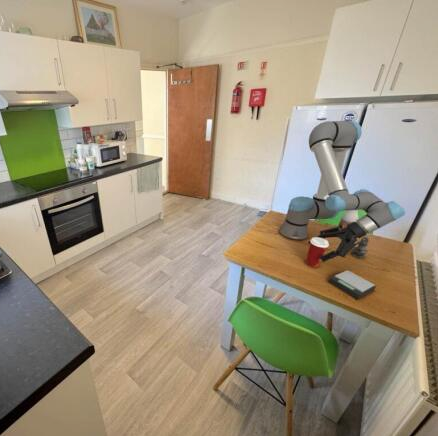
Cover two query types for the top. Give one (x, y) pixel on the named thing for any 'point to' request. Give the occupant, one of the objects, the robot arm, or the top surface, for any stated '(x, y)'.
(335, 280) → the scale
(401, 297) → the top surface
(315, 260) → the paper cup
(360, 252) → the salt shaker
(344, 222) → the milk bottle
